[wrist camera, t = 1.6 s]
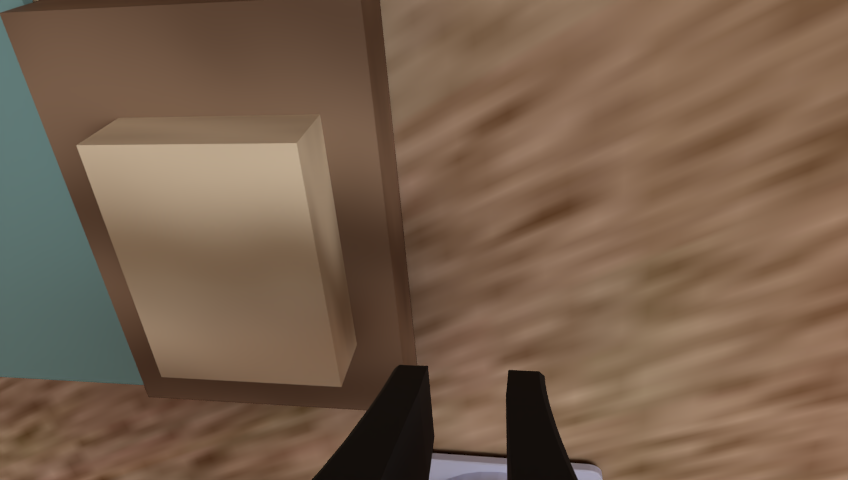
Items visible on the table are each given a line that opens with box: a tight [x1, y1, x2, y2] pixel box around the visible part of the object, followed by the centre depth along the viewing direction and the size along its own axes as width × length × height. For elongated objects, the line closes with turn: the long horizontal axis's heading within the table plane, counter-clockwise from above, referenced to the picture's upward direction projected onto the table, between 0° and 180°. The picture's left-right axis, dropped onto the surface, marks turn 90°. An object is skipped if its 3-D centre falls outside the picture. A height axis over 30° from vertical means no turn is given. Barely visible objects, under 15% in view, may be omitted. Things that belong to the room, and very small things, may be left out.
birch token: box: [76, 114, 357, 387], centre depth 19 cm, size 8×6×2 cm
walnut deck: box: [0, 0, 417, 410], centre depth 21 cm, size 14×10×2 cm
